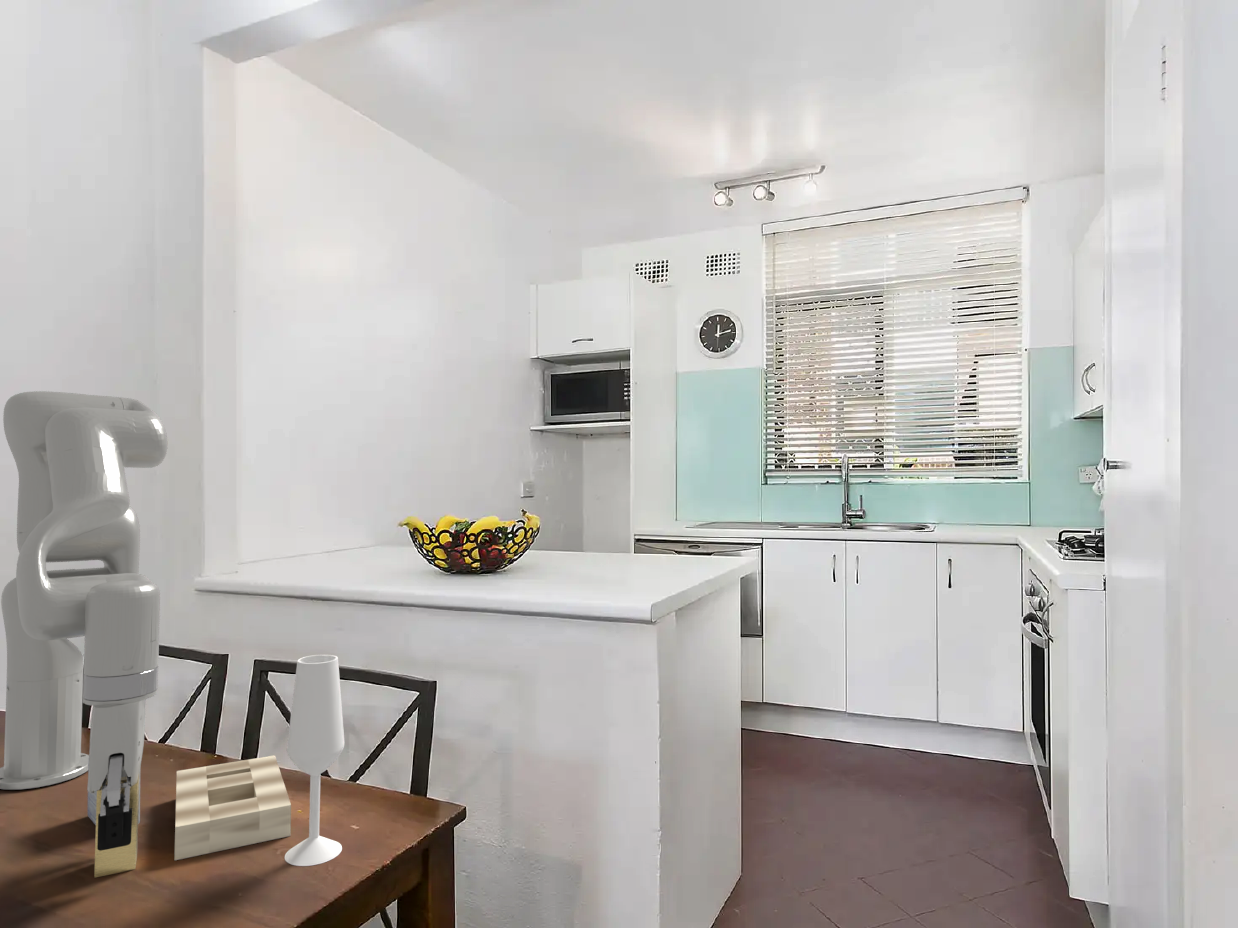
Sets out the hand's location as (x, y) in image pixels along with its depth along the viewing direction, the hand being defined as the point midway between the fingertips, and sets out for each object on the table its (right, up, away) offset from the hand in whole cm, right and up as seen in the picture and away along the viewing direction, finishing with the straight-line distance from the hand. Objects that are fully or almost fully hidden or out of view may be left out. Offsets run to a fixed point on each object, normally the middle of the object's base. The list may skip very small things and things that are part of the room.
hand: (117, 830), depth 89 cm
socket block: (+7, -5, +13) cm, 15 cm away
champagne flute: (+22, -5, +4) cm, 23 cm away
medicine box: (-8, -5, +12) cm, 15 cm away
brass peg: (0, -4, 0) cm, 4 cm away
